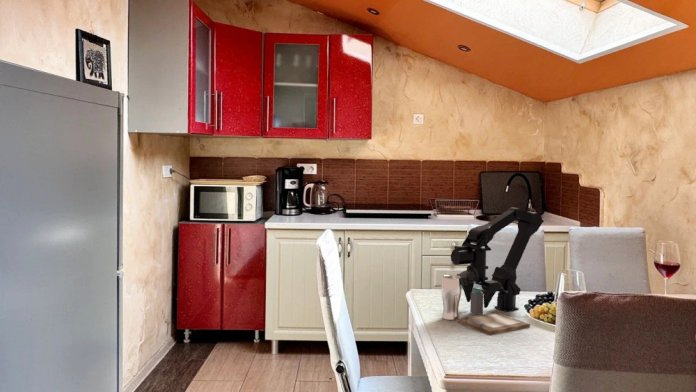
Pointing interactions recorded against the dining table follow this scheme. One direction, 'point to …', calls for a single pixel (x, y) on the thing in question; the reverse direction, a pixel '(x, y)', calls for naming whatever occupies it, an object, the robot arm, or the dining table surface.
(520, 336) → the dining table surface
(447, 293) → the metal tumbler
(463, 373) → the dining table surface
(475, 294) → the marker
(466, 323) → the wooden tray
